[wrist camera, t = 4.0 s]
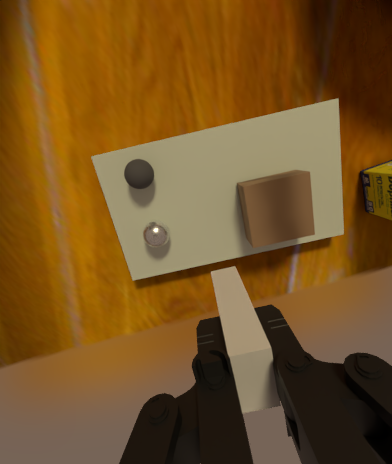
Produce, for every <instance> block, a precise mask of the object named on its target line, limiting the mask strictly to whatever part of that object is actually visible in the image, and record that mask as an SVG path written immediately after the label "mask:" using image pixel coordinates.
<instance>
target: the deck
mask: <svg viewBox="0 0 392 464" xmlns="http://www.w3.org/2000/svg"><path fill="white" fill-rule="evenodd" d="M91 158H92V161H93V164H94V167H95V170H96V173H97V176H98V179H99V182H100V185H101V187H102V190H103V193H104V196H105V199H106V202H107V205H108V208H109V211H110V214H111V217H112V220H113V223H114V226H115V229H116V232H117V235H118V238H119V241H120V244H121V247H122V250H123V253H124V256H125V259H126V262H127V265H128V267H129V270H130V273H131V276H132V279H133V280H138V279H142V278H147V277H152V276H156V275H161V274H165V273H170V272H174V271H179V270H183V269H188V268H192V267H197V266H201V265H206V264H211V263H215V262H220V261H224V260H229V259H233V258H238V257H242V256H247V255H251V254H256V253H260V252H265V251H270V250H274V249H279V248H283V247H288V246H292V245H297V244H301V243H306V242H310V241H315V240H319V239H324V238H329V237H333V236H338V235H342V234H344V224H343V199H342V174H341V149H340V124H339V99H338V98H337V99H333V100H329V101H324V102H320V103H316V104H312V105H308V106H303V107H299V108H295V109H291V110H286V111H282V112H278V113H274V114H269V115H265V116H261V117H257V118H252V119H248V120H244V121H240V122H235V123H231V124H227V125H223V126H218V127H214V128H210V129H206V130H201V131H197V132H193V133H189V134H185V135H180V136H176V137H172V138H168V139H163V140H159V141H155V142H151V143H146V144H142V145H138V146H134V147H129V148H125V149H121V150H117V151H112V152H108V153H104V154H100V155H95V156H91ZM135 159H142V160H145V161H147V162H148V163H149V164H150V165H151V166H152V168H153V170H154V179H153V182H152V183H151V185H150V186H148V187H147V188H144V189H135V188H133V187H131V186H130V185H129V184H128V183H127V182H126V180H125V177H124V170H125V167H126V165H127V164H128V163H129V162H130V161H132V160H135ZM292 170H302V171H309V172H310V177H311V190H312V203H313V216H314V229H315V235H311V236H306V237H302V238H297V239H293V240H288V241H284V242H279V243H275V244H270V245H266V246H261V247H256V248H253V247H252V246H251V244H250V243H249V242H248V240H247V239H246V235H245V229H244V223H243V217H242V212H241V206H240V200H239V194H238V188H237V183H239V182H244V181H248V180H252V179H257V178H261V177H266V176H270V175H274V174H279V173H283V172H287V171H292ZM153 220H159V221H162V222H164V223H165V224H166V225H167V226H168V228H169V230H170V237H169V240H168V242H167V243H166V244H165V245H163V246H161V247H151V246H149V245H148V244H147V243H146V242H145V241H144V239H143V235H142V233H143V229H144V227H145V225H146V224H147V223H149V222H150V221H153Z"/></svg>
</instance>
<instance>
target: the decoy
mask: <svg viewBox="0 0 392 464" xmlns="http://www.w3.org/2000/svg"><path fill="white" fill-rule="evenodd" d="M124 177H125V180H126V182H127V183H128V184H129V185H130V186H131V187H133V188H135V189H144V188H147V187H148V186H150V185H151V183H152V182H153V179H154V170H153V168H152V166H151V165H150V164H149V163H148V162H147V161H145V160H142V159H135V160H132V161H130V162H129V163H128V164H127V165H126V167H125V170H124Z"/></svg>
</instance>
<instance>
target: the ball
mask: <svg viewBox="0 0 392 464" xmlns="http://www.w3.org/2000/svg"><path fill="white" fill-rule="evenodd" d="M142 235H143V239H144V241H145V242H146V243H147V244H148V245H149V246H151V247H161V246H163V245H165V244H166V243H167V242H168V240H169V237H170V230H169V228H168V226H167V225H166V224H165V223H164V222H162V221H159V220H153V221H150V222H149V223H147V224H146V225H145V227H144V229H143V233H142Z"/></svg>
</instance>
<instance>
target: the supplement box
mask: <svg viewBox="0 0 392 464" xmlns="http://www.w3.org/2000/svg"><path fill="white" fill-rule="evenodd" d="M360 173H361V178H362V183H363V190H364V198H365V210H366V212H368V213H371V214H374V215H377V216H380V217H383V218H386V219H389V220H392V160H390V161H388V162H385V163H382V164H379V165H376V166H373V167H370V168H367V169H365V170H362V171H360Z"/></svg>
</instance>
